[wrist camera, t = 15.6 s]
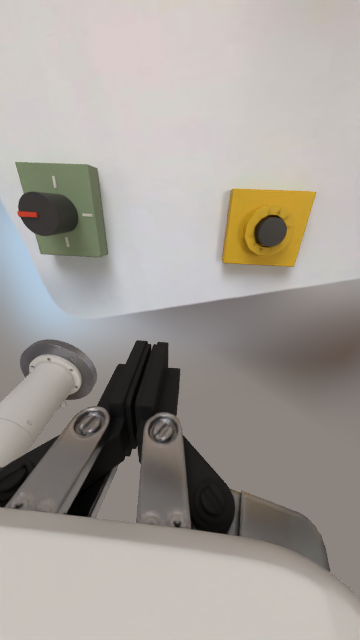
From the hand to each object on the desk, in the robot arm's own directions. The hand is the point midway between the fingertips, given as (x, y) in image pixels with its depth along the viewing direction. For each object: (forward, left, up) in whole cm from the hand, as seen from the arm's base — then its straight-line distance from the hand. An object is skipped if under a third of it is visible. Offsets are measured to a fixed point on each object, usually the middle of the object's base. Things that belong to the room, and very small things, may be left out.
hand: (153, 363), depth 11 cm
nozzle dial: (+6, +18, -24) cm, 31 cm away
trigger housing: (+5, -12, -27) cm, 30 cm away
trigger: (+5, -12, -23) cm, 27 cm away
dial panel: (+6, +18, -27) cm, 33 cm away
